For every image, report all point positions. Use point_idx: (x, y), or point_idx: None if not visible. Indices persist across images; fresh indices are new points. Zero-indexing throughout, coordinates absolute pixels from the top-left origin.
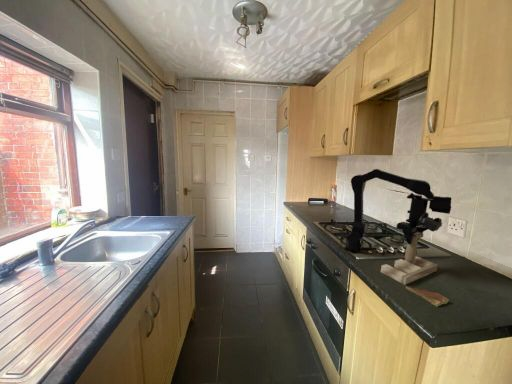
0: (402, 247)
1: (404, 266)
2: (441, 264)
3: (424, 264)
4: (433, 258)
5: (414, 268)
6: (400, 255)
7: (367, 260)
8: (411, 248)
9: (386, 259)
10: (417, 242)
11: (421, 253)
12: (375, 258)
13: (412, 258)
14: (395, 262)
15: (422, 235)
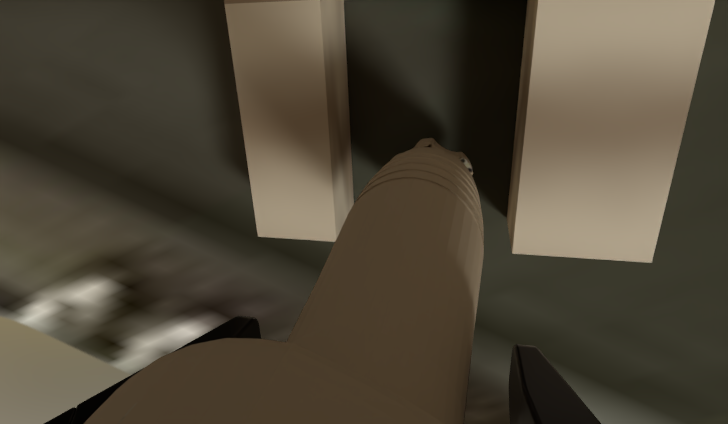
0: (122, 361)
1: (672, 139)
2: (65, 24)
3: (330, 61)
4: (33, 131)
5: (669, 25)
6: (286, 306)
7: (722, 416)
8: (474, 268)
9: (508, 335)
10: (350, 296)
11: (57, 233)
12: (592, 394)
13: (456, 169)
14: (648, 246)
15: (253, 413)
